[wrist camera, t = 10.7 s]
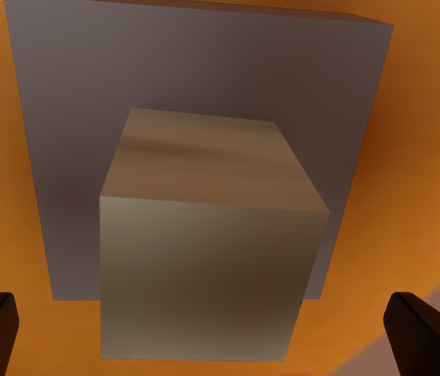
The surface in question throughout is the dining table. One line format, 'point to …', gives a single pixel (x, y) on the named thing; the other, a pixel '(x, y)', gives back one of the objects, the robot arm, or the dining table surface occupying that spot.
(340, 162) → the stack pad
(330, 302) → the dining table surface
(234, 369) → the dining table surface
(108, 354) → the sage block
